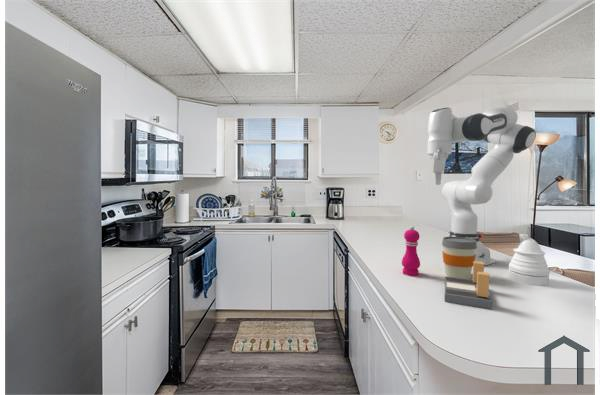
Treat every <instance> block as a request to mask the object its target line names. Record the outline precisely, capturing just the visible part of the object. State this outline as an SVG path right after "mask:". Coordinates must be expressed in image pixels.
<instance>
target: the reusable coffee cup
mask: <svg viewBox="0 0 600 395" xmlns="http://www.w3.org/2000/svg"><path fill="white" fill-rule="evenodd" d="M441 245H442V261H443V264H444V269H445V270H444V271H445V276H447V277H454V278H462V279H469V280H470V279H471V275H472V272H473V261H475V256H476V255H475V250H476V248H477V245H476V240H474V239H470V238H464V237H450V236H444V237H443V238H442V243H441Z"/></svg>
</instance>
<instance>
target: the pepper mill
mask: <svg viewBox="0 0 600 395" xmlns="http://www.w3.org/2000/svg"><path fill="white" fill-rule="evenodd" d="M403 234H404V235H403V237H404V238H403V239H405V243H404V245H405V246H406V247H405V253H404V255H403V257H402V259H401V265H402V267H403V268H402V274H403V275H405V276H411V277H416V276H419V275H420V274H419V273H420V272H419V271H420V270H419V268H420V267H421V261H420V258H419V256H418V254H417V251H418V250H417V246H418V245H419V239H420V233H419V232H418V230H415V226H413V225H410V226H409V229H408V230H406V231H405V232H404V233H403Z"/></svg>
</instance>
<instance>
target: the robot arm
mask: <svg viewBox="0 0 600 395" xmlns="http://www.w3.org/2000/svg"><path fill="white" fill-rule="evenodd" d="M518 118H519V117H518V113H517V112H516V111H515V110H514V109H513V108H511V107H495V108H490V109H487V110H485V111H483V112H482V113H479V112H478V113H474V114H471V115H467V116H462V117H457V116H456V115H454V114H453V110H452V108H450V107H442V108H437V109H433V110H432V111H430V114H429V118H428V122H427V123H428V126H427V133H428V134H427V135H428V140H427V149H426V150H427V153H426V155H429V156H430V157H429V158H430V159H431V160H432V172H433V173H434V174H435V185H436V186H440V185H441V184H442V183H441V182H442V181H441V180H442V175H443V174H444V173H445V167H446V161H447V159H449V155H452V153H453V144H455V143H464V142H466V143H467V142H479V141H485V142H487V143H489V144H490V143H491V144H493V145H494V147H493V148H492V149H490V150H489V151H488V152H486V153H485V154H484V155H483V156H482V157H481V158H480V159H479V160H478V161H477V162H476V163H475V164H474V165H473V167H471V170H470V172H471V176H470V177H469V178H467V179H465V180H464V179H457V180H451V181H448V182H446V183H445V184H444V185H443V186H442V187H441V188H442V189H441V194H442V197H443V198H444V199H445V200H446V203H447V204H448V208H449V211H450V220H451V221H450V223H451V224H450V231H449V237H464V238H470V239H474V240H476V245H477V248H476V250H475V255H476V256H475V261H478V262H483V263H484V266H488V265H491V264H496V263H497V261H496V259H494V258H491V251H490V249H489V248H488V247H487V246H486V245H485V244H484V243H482V242H481V241H480V240H481V239H483V238H484V236H485V235H484V233H478V220H479V218H478V216H477V214H476V213H475V211H474V210H473V208H472V206H471V205H482V204H486V203H488V202H489V201H491V199H492V196H493V188H492V185H493V183H494V182H495V180H497V178H498V177H499V176H501V174H502V173H503V172H504V171H505V169H506V168H508V166H509V165H510V164H511V162H512V160H513V159H514V154H520V153H521V152H523V151H526V150H527V149H529V148H530V147H531V146H532V145H533V144H534V142H535V140H536V136H537V133H536V129H535V128H532V127H531V126H528V125H522V124H518V123H517V122H518Z"/></svg>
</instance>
